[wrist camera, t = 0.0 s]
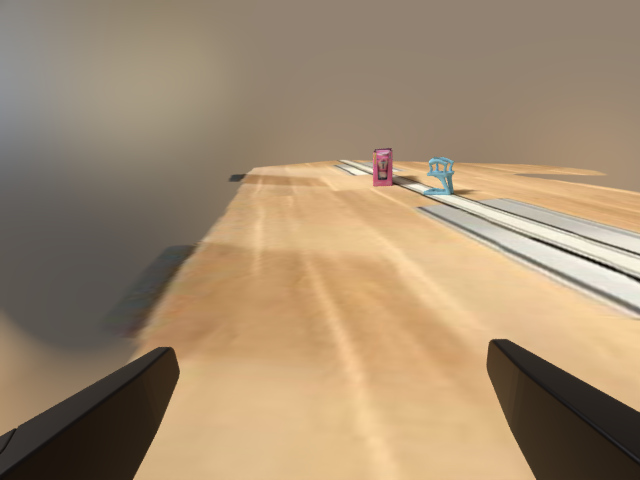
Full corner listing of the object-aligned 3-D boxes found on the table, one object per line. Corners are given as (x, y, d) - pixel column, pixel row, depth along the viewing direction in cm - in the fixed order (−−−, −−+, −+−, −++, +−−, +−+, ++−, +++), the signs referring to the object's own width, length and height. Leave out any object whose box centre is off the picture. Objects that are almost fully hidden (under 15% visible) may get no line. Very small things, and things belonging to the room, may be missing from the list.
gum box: (392, 186, 128) (392, 151, 124) (372, 187, 130) (372, 152, 126) (392, 177, 150) (392, 147, 146) (375, 178, 152) (374, 149, 148)
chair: (447, 196, 103) (449, 158, 99) (423, 194, 109) (424, 158, 105) (456, 192, 108) (459, 155, 104) (432, 190, 114) (434, 155, 110)
